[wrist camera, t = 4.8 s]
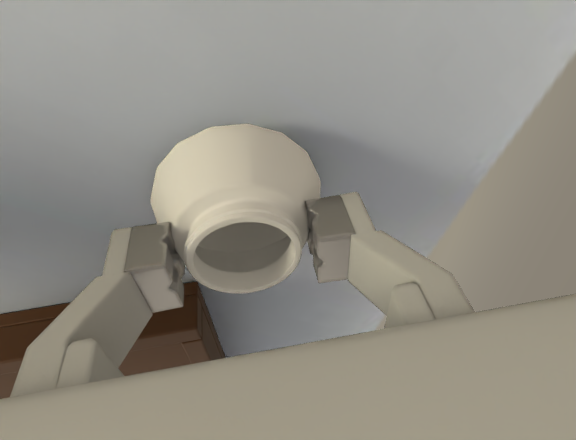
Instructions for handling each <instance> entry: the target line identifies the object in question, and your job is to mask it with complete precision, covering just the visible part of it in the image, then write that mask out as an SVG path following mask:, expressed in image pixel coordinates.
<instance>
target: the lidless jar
mask: <svg viewBox="0 0 576 440" xmlns="http://www.w3.org/2000/svg"><path fill="white" fill-rule="evenodd" d="M320 191H321V181H320V178H319V176H318V174H317V171H316V169H315V167H314V165H313V163H312V161H311V159H310V157H309V155H308V153H307V151H305V150H304V149H303V148H302V147H300V146H299V145H298V144H296V143H295V142H294V141H292V140H291V139H290V138H288V137H287V136H286V135H285V134H283V133H282V132H278V131H274V130H270V129H266V128H263V127H259V126H255V125H251V124H238V125H227V126H217V127H209V128H207V129H205V130H203V131H201V132H199V133H197V134H195V135H193V136H191V137H189V138H187V139H185V140H183V141H181V142H179V143H177V144H176V145H175V147H174V148H173V149H172V150H171V151H170V152H169V154H168V155H167V156H166V157H165V158H164V160H163V161H162V162H161V163H160V164H159V166H158V167H157V169H156V174H155V179H154V184H153V189H152V193H151V200H150V203H151V206H152V209H153V212H154V215H155V217H156V220H157V223H163V222H170V226H171V232H172V237H173V239H174V242H175V250H176V252H177V253H178V254H179V255H180V257H181V259H182V260H183V261H184V262H185V265H186V267H187V269H188V271H189V272H190V273H191V275H192V276H193V277H194V278H195V279H196V280H197V281H198V282H199V283H201V284H202V285H204V286H206V287H208V288H210V289H213V290H216V291H220V292H225V293H251V292H256V291H260V290H264V289H267V288H269V287H272V286H274V285H276V284H278V283H279V282H281V281H283V280H284V279H285V278H287V277H288V276H289V275H290V274H291V273H292V272H293V271H294V270H295V268H296V267H297V265H298V263H299V261H300V258H301V254H302V248H303V247H304V245H305V243H306V242H307V240H308V232H309V225H308V219H307V210H306V203H305V201H306V200H311V199H317V198H320Z"/></svg>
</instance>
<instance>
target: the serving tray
mask: <svg viewBox="0 0 576 440" xmlns="http://www.w3.org/2000/svg"><path fill="white" fill-rule="evenodd" d="M183 285H184V304H183V307H179V308H174V309H169V310H164V311H159V312H154V313H152V314H153V315H152V317H151V318H150V320H149V321H148V323H147V324H146V326H145V328H144V329H143V331H142V332H141V334H140V335H139V337H138V338H137V340H136V342H135V343H134V345H133V346H132V348H131V349H130V351H129V352H128V354H127V356H126V357H125V359H124V360H123V362H122V363H121V365H120V366H119V368H118V369H119V370H120V371H121V372H122V374H123V375H124V376H129V375H134V374H140V373H145V372H151V371H156V370H162V369H167V368H172V367H178V366H183V365H189V364H194V363H200V362H205V361H211V360H216V359H222V358H225V355H224V353H223V350H222V347H221V344H220V342H219V339H218V336H217V334H216V331H215V328H214V326H213V323H212V320H211V317H210V315H209V312H208V309H207V307H206V304H205V301H204V298H203V296H202V293H201V290H200V288H199V285H198V283H197V282H191V283H185V284H183ZM69 304H70V303H66V304H60V305H54V306H48V307H42V308H36V309H30V310H24V311H18V312H12V313H6V314H0V399H3V398H8V397H10V395H11V392H12V390H13V387H14V384H15V381H16V378H17V375H18V372H19V369H20V366H21V364H22V361H23V358H24V355H25V352H26V349H27V347H28V346H29V345H30V344H31V343H32V342H33V341H34V340H35V339H36V338H37V337H38V336H39V335H40V334H41V333H42V332H43V331H44V330H45V329H46V328H47V327H48V326H49V325H50V324H51V323H52V322H53V321H54V320H55V319H56V318H57V316H58V315H59V314H60V313H61V312H62V311H63V310H64V309H65V308H66V307H67V306H68V305H69Z"/></svg>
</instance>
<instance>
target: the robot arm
mask: <svg viewBox="0 0 576 440" xmlns="http://www.w3.org/2000/svg"><path fill="white" fill-rule="evenodd" d="M305 203H306V210H307V219H308V225H309V232H308V240H307V242H308V247H309V251H310V254H312V255H313V266H314V269H315V273H316V276H317V280H318V283H325V282H332V281H339V280H346V279H348V281H349V282H350V283H351V284H352V285H353V286H354V287H355V288H357V289H358V290H359V291H360V292H361V293H362V294H363V295H364V296H365V297H366V298H368V299H369V300H370V301H371V302H372V303H373V304H374V305H375V306H376V307H378V308H379V309H380V310H381V311H382V312H383V313H384V314H385V315H386V316H387V317H386V322H385V326H384V329H380V330H375V331H369V332H364V333H358V334H353V335H347V336H342V337H337V338H331V339H326V340H320V341H315V342H309V343H304V344H299V345H293V346H288V347H282V348H277V349H271V350H266V351H260V352H255V353H249V354H244V355H238V356H233V357H227V358H222V359H216V360H211V361H205V362H200V363H194V364H189V365H183V366H178V367H172V368H167V369H162V370H156V371H151V372H145V373H140V374H134V375H129V376H124V375H123V374H122V372H121V371H120V370H119V369H118V368H119V366H120V365H121V363H122V362H123V360H124V359H125V357H126V356H127V354H128V352H129V351H130V349H131V348H132V346H133V345H134V343H135V342H136V340H137V338H138V337H139V335H140V334H141V332H142V331H143V329H144V328H145V326H146V324H147V323H148V321H149V320H150V318H151V317H152V315H153V314H152V313H154V312H159V311H164V310H169V309H174V308H179V307H183V304H184V285H183V283H182V280H181V278H182V277H183V276H184V274H185V263H184V261H183V260H182V259H181V257H180V255H179V254H178V253H177V252H176V250H175V242H174V239H173V237H172V232H171V226H170V222H163V223H156V224H148V225H141V226H134V227H129V228H121V229H115V230H114V231H113V232H112V234H111V238H110V243H109V247H108V251H107V256H106V260H105V265H104V269H103V273H102V276H99V277H96V278H95V279H94V280H93V281H92V282H91V283H90V284H89V285H88V286H87V287H86V288H85V289H84V290H83V291H82V292H81V293H80V294H79V295H78V296H77V297H76V298H75V299H74V300H73V301H72V302H71V303H70V304H69V305H68V306H67V307H66V308H65V309H64V310H63V311H62V312H61V313H60V314H59V315H58V316H57V318H56V319H55V320H54V321H53V322H52V323H51V324H50V325H49V326H48V327H47V328H46V329H45V330H44V331H43V332H42V333H41V334H40V335H39V336H38V337H37V338H36V339H35V340H34V341H33V342H32V343H31V344H30V345H29V346H28V347H27V349H26V352H25V355H24V358H23V361H22V364H21V366H20V369H19V372H18V375H17V378H16V381H15V384H14V387H13V390H12V392H11V395H10V397H8V398H3V399H0V440H576V294H572V295H566V296H561V297H555V298H550V299H545V300H539V301H533V302H528V303H522V304H517V305H511V306H506V307H500V308H495V309H490V310H484V311H479V312H475V311H474V310H473V308H472V306H471V305H470V303H469V301H468V299H467V298H466V296H465V294H464V293H463V291H462V289H461V288H460V286H459V284H458V282H457V281H456V279H455V277H454V276H453V274H452V273H450V272H448V271H447V270H445V269H444V268H442V267H440V266H439V265H437V264H436V263H434V262H432V261H431V260H429V259H427V258H426V257H424V256H423V255H421V254H419V253H418V252H416V251H414V250H413V249H411V248H409V247H408V246H406V245H405V244H403V243H401V242H400V241H398V240H396V239H395V238H393V237H392V236H390V235H388V234H387V233H385V232H383V231H382V230H379V231H376V229H375V227H374V225H373V223H372V221H371V219H370V217H369V214H368V212H367V210H366V208H365V206H364V204H363V202H362V199H361V197H360V195H359V193H357V192H351V193H346V194H340V195H335V196H329V197H323V198H317V199H311V200H306V201H305Z"/></svg>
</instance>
